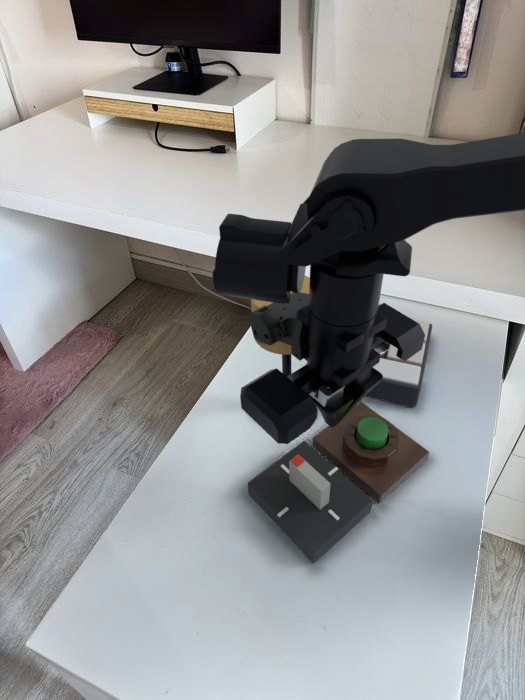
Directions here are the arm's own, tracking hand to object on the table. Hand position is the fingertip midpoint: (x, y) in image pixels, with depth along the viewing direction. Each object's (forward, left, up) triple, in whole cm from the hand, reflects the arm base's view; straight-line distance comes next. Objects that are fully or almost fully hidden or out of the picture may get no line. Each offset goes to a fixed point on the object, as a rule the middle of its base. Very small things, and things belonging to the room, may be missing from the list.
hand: (331, 423), depth 52 cm
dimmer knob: (0, +3, -9) cm, 10 cm away
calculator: (+9, -21, -12) cm, 26 cm away
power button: (0, -7, -8) cm, 11 cm away
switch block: (0, -7, -11) cm, 13 cm away
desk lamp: (+13, -5, -11) cm, 18 cm away
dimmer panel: (0, +3, -11) cm, 12 cm away
